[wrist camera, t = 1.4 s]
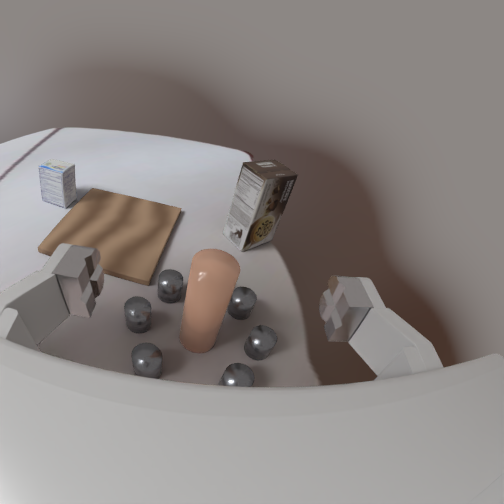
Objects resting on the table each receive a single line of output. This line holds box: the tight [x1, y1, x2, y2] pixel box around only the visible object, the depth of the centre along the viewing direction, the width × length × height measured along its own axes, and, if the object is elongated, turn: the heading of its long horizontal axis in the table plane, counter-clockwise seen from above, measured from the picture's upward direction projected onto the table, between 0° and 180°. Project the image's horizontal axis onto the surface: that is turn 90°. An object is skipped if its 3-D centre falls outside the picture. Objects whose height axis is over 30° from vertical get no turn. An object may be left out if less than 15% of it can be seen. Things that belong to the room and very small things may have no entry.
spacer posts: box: [124, 269, 277, 387], centre depth 36 cm, size 21×19×4 cm
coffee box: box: [223, 160, 298, 252], centre depth 53 cm, size 9×6×16 cm
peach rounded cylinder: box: [179, 249, 240, 353], centre depth 32 cm, size 5×5×14 cm
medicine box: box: [39, 159, 76, 208], centre depth 46 cm, size 8×4×9 cm, turn 82°
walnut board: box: [38, 188, 181, 286], centre depth 47 cm, size 22×22×1 cm
